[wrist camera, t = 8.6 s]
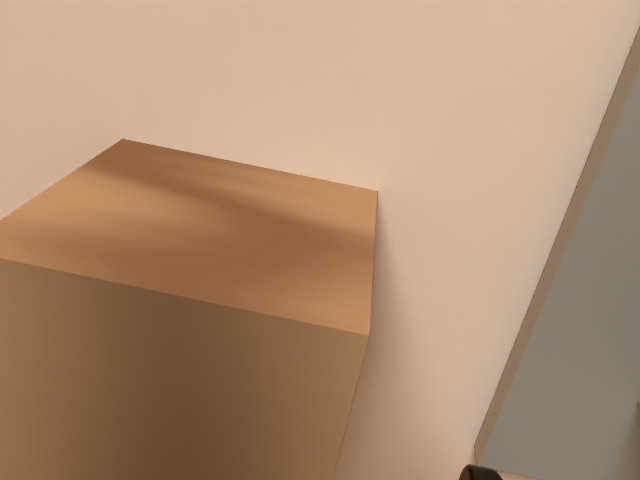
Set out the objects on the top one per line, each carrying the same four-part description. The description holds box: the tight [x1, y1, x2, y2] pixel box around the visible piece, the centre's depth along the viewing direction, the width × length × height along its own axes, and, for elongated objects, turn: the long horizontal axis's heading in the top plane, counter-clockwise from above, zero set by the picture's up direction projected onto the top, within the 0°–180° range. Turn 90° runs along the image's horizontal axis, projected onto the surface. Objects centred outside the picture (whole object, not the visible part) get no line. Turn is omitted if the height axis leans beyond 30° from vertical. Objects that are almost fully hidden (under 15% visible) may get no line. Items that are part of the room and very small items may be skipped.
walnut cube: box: [0, 139, 377, 480], centre depth 10 cm, size 5×5×5 cm
